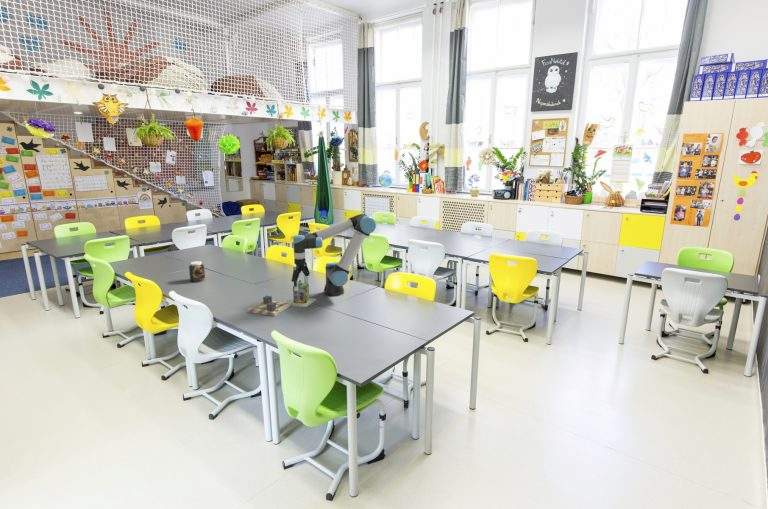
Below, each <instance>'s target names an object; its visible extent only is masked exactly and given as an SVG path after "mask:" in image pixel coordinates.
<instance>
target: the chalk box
mask: <svg viewBox="0 0 768 509" xmlns="http://www.w3.org/2000/svg"><path fill="white" fill-rule="evenodd" d="M292 295H293V296H292V297H293V299H294V303H307V301H308V300H309V298H310V284H309V283H308V284H304V282H302V280H301V279H298V291H294V285H293V286H292Z"/></svg>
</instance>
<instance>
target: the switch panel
mask: <svg viewBox="0 0 768 509" xmlns="http://www.w3.org/2000/svg"><path fill="white" fill-rule="evenodd" d="M272 302H273V303H276V309H275V310H273V311H270V310H267V304H266V303H263V300H262V301H260V302H258V303H257V304H255V305H253V306H251V307H249V308H248V309H247V312H248V313H251V314H252V313H253V314H259V315H267V316H271V317H275V316H277V315H279V314H281V313H282V312H283V311H285V310H287V309H289V308H290V307H291V306H292V305H291V303H287V302H284V301H277V300H272Z"/></svg>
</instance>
